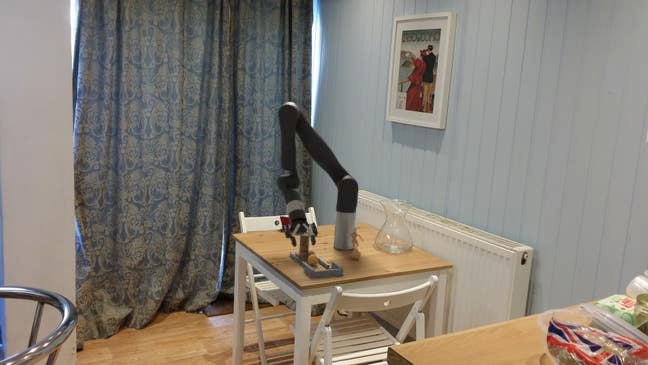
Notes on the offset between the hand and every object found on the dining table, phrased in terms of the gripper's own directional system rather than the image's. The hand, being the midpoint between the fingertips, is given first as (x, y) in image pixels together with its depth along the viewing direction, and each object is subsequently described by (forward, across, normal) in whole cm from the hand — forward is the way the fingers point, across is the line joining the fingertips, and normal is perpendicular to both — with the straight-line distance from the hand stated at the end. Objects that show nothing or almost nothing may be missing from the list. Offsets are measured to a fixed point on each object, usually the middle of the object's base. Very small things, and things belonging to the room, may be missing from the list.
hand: (304, 245), depth 242 cm
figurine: (+8, +21, 0) cm, 23 cm away
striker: (+4, 0, +4) cm, 5 cm away
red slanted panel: (-28, +14, +37) cm, 49 cm away
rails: (+8, 0, 0) cm, 8 cm away
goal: (+18, 0, -10) cm, 20 cm away
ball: (+9, 0, -4) cm, 10 cm away
